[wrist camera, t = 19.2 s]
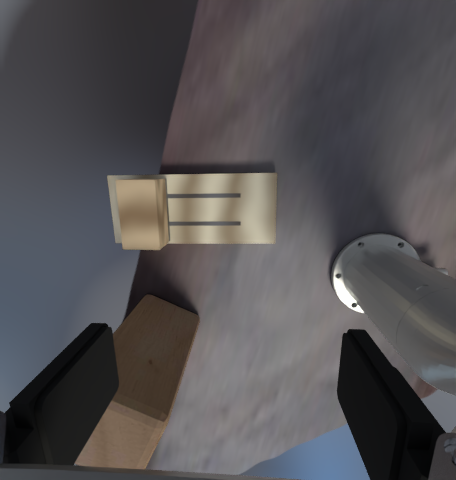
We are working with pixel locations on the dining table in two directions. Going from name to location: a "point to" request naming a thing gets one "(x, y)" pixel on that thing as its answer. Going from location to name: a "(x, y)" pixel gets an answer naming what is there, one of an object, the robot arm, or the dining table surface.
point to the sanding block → (143, 213)
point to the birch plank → (214, 207)
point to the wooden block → (142, 384)
